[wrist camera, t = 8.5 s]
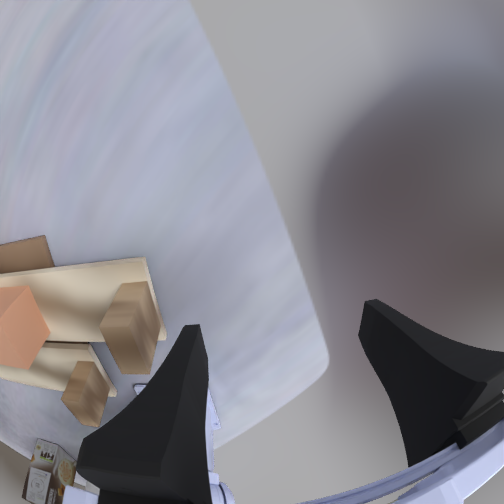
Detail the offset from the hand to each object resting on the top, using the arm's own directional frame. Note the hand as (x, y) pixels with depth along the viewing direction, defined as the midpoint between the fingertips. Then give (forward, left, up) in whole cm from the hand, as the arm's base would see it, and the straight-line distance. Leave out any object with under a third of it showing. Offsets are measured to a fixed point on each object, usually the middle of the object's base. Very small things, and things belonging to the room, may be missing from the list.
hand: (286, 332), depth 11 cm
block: (-3, +22, -8) cm, 24 cm away
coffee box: (-41, +44, -10) cm, 61 cm away
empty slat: (-11, +26, -9) cm, 30 cm away
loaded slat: (-3, +18, -9) cm, 21 cm away
